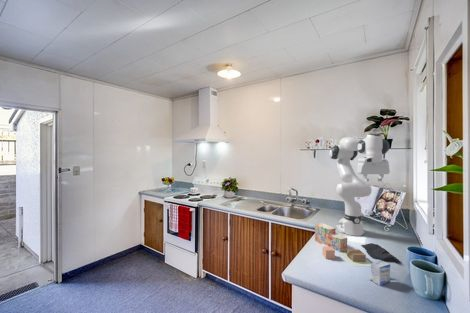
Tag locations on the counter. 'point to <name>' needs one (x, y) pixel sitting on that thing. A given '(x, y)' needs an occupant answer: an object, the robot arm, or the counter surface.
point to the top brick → (328, 252)
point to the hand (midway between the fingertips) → (373, 181)
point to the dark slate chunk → (379, 253)
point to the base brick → (356, 255)
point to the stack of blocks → (330, 237)
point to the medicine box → (380, 272)
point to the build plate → (355, 262)
